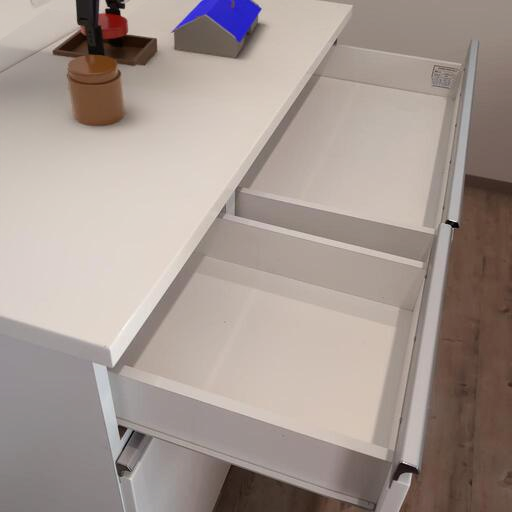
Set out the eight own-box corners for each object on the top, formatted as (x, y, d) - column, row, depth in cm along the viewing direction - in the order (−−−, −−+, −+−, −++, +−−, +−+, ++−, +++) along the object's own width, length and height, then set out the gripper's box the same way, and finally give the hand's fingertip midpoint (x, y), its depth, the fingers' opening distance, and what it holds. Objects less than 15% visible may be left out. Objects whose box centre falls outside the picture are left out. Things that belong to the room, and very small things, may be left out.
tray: (54, 64, 99) (52, 50, 98) (83, 40, 109) (81, 28, 107) (135, 75, 98) (134, 62, 96) (157, 51, 107) (156, 38, 105)
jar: (66, 132, 81) (55, 70, 75) (87, 110, 87) (78, 50, 81) (115, 140, 80) (107, 78, 74) (133, 117, 86) (127, 57, 80)
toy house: (239, 58, 107) (240, 19, 102) (171, 48, 108) (169, 10, 103) (261, 23, 123) (263, -12, 118) (201, 15, 125) (201, -20, 120)
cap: (135, 26, 103) (134, 16, 101) (118, 41, 96) (117, 31, 95) (92, 20, 103) (91, 10, 102) (73, 35, 97) (71, 25, 96)
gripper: (85, -73, 79) (104, 77, 94) (136, -95, 95) (145, 36, 110) (37, -78, 80) (63, 71, 95) (95, -100, 96) (109, 31, 111)
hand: (107, 52), depth 103 cm, fingers closed on cap, 8 cm apart
